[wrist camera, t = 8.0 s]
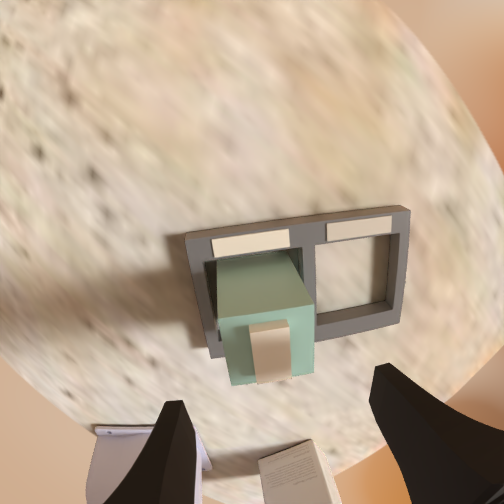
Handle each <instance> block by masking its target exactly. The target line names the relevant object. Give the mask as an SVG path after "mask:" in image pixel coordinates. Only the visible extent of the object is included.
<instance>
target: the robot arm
mask: <svg viewBox="0 0 504 504" xmlns="http://www.w3.org/2000/svg"><path fill="white" fill-rule="evenodd" d="M369 403H370V406H371V409H372V412H373V414H374V417H375V420H376V422H377V424H378V426H379V428H380V430H381V432H382V434H383V436H384V438H385V440H386V442H387V444H388V445H389V447H390V449H391V451H392V453H393V455H394V457H395V459H396V461H397V463H398V465H399V467H400V470H401V472H402V475H403V478H404V481H405V483H406V486H407V489H408V492H409V495H410V499H411V502H412V504H504V431H503V430H499V429H496V428H493V427H490V426H488V425H485V424H483V423H480V422H478V421H476V420H473V419H471V418H469V417H467V416H465V415H463V414H461V413H459V412H457V411H456V410H454V409H452V408H451V407H449V406H448V405H446V404H444V403H443V402H441V401H440V400H438V399H437V398H435V397H434V396H432V395H431V394H430V393H428V392H427V391H425V390H424V389H423V388H421V387H420V386H419V385H417V384H416V383H415V382H413V381H412V380H411V379H410V378H408V377H407V376H406V375H404V374H403V373H402V372H401V371H399V370H398V369H397V368H396V367H394V366H393V365H392V364H390V363H386V364H382V365H379V366H375V371H374V376H373V382H372V387H371V392H370V397H369ZM95 432H96V434H97V435H98V437H97V441H96V445H95V449H94V452H93V456H92V461H91V465H90V469H89V473H88V478H87V482H86V500H87V504H202V471H211V470H212V469H213V467H212V464H211V462H210V459H209V457H208V455H207V453H206V450H205V448H204V446H203V444H202V441H201V439H200V437H199V434H198V432H197V430H196V428H195V426H193V425H192V422H191V420H190V417H189V415H188V413H187V410H186V408H185V405H184V403H183V400H177V401H166V402H165V403H164V406H163V408H162V411H161V413H160V415H159V417H158V419H157V422H156V424H155V426H154V427H110V426H96V427H95Z"/></svg>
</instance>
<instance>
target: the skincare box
mask: <svg viewBox="0 0 504 504" xmlns="http://www.w3.org/2000/svg"><path fill="white" fill-rule="evenodd" d="M258 465H259V471H260V477H261V484H262V489H263V496H264V501H265V504H342V502H341V499H340V496H339V493H338V490H337V487H336V484H335V481H334V478H333V475H332V472H331V469H330V467H329V464H328V461H327V458H326V455H325V454H324V453H323V451H322V450H321V449H320V448H319V447H318V445H317V444H316V443H315V442H314V441H313V440H309V441H306V442H304V443H301V444H299V445H297V446H294V447H292V448H289V449H287V450H284V451H281V452H279V453H276V454H273V455H271V456H268V457H265V458H262V459H259V460H258Z"/></svg>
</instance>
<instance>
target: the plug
mask: <svg viewBox="0 0 504 504" xmlns="http://www.w3.org/2000/svg"><path fill="white" fill-rule="evenodd" d="M217 310H218V323H219V328H220V333H221V338H222V343H223V348H224V353H225V358H226V362H227V367H228V372H229V376H230V381H231V386H236V385H243V384H250V383H257V384H262V383H269V382H275V381H281V380H287V379H292V377H294V376H299V375H305V374H310V373H314V303H313V301H312V299H311V297H310V295H309V293H308V291H307V289H306V287H305V285H304V284H303V282H302V280H301V278H300V276H299V274H298V272H297V270H296V268H295V267H294V265H293V263H292V261H291V259H290V257H289V255H288V254H287V252H286V251H279V252H271V253H264V254H257V255H250V256H242V257H235V258H228V259H220V260H217Z"/></svg>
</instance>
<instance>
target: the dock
mask: <svg viewBox="0 0 504 504" xmlns="http://www.w3.org/2000/svg"><path fill="white" fill-rule="evenodd" d="M410 214H411V210H409V209H407V208H405V207H403V206H401V205H398V206H389V207H380V208H371V209H362V210H354V211H345V212H337V213H328V214H320V215H312V216H304V217H296V218H289V219H281V220H274V221H266V222H259V223H251V224H244V225H237V226H230V227H223V228H216V229H209V230H203V231H196V232H189V233H186V237H185V245H186V250H187V255H188V260H189V265H190V270H191V275H192V279H193V284H194V289H195V293H196V298H197V302H198V306H199V311H200V315H201V320H202V324H203V328H204V332H205V336H206V340H207V345H208V349H209V353H210V357H211V359H213V358H221V357H225V353H224V348H223V343H222V338H221V333H220V330H218V327H217V323H216V318H215V313H214V308H213V303H212V298H211V293H210V288H209V283H208V278H207V272H206V267H205V262H204V261H208V260H215V259H222V258H229V257H236V256H243V255H250V254H257V253H264V252H271V251H277V250H284V249H291V248H298V260H299V276H300V278H301V280H302V282H303V284H304V285H305V287H306V289H307V291H308V293H309V295H310V297H311V299H312V301H313V303H314V342H319V341H324V340H329V339H334V338H339V337H343V336H348V335H352V334H357V333H361V332H365V331H370V330H374V329H378V328H382V327H386V326H390V325H394V324H398V323H399V322H400V316H401V309H402V302H403V295H404V287H405V278H406V269H407V259H408V247H409V233H410ZM388 234H390V251H389V266H388V278H387V289H386V299H385V301H382V302H377V303H372V304H368V305H363V306H358V307H353V308H349V309H344V310H339V311H333V312H328V313H323V314H318V315H317V312H316V264H315V245H319V244H326V243H333V242H340V241H346V240H353V239H360V238H367V237H374V236H381V235H388Z"/></svg>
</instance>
